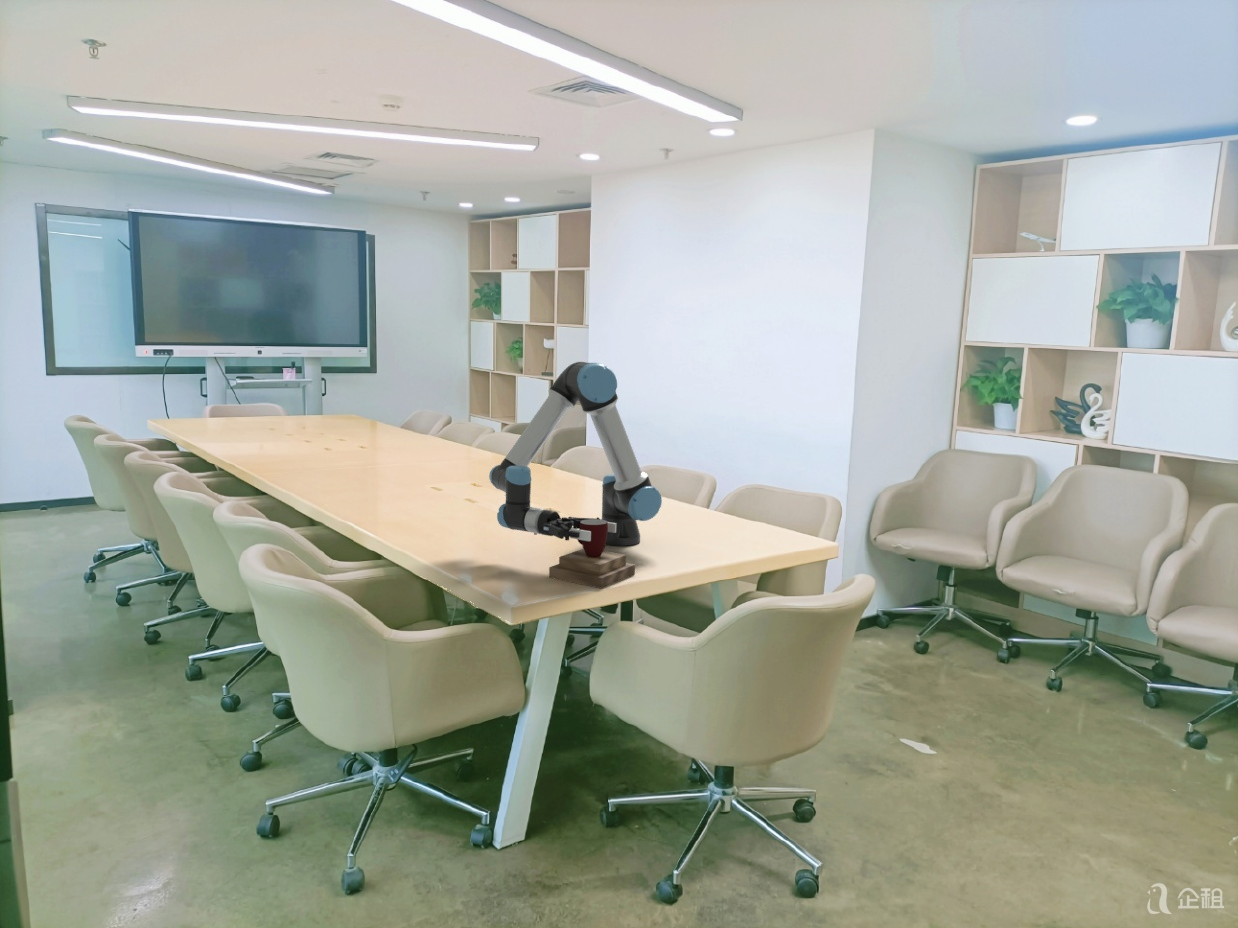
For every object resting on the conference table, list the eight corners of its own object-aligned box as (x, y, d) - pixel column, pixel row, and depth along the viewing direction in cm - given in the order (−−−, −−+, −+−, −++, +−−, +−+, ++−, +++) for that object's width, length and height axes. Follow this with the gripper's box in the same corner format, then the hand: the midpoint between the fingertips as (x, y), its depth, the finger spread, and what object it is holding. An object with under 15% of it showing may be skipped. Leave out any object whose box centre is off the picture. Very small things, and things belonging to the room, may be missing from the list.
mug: (567, 555, 251) (567, 521, 249) (584, 549, 257) (584, 516, 256) (597, 560, 245) (597, 526, 243) (613, 554, 252) (613, 521, 250)
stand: (583, 564, 264) (584, 545, 263) (634, 574, 254) (635, 554, 254) (549, 577, 248) (549, 557, 248) (601, 588, 239) (602, 567, 238)
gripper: (567, 527, 270) (625, 537, 259) (517, 541, 249) (578, 553, 238) (567, 503, 269) (626, 512, 258) (517, 516, 248) (579, 526, 237)
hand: (603, 532), depth 248 cm, fingers open, 13 cm apart
